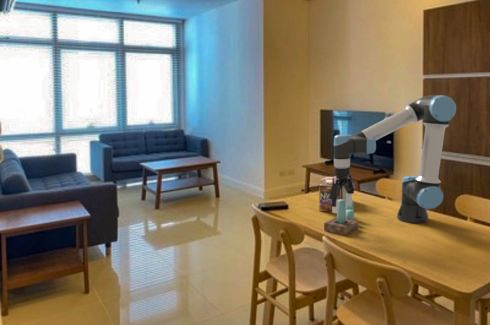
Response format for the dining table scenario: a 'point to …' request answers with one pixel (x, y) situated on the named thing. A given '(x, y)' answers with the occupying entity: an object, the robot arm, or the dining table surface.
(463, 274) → the dining table surface
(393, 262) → the dining table surface
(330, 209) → the candy box
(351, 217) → the short dowel
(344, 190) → the gift box
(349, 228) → the walnut block
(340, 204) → the long dowel
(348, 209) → the medium dowel
